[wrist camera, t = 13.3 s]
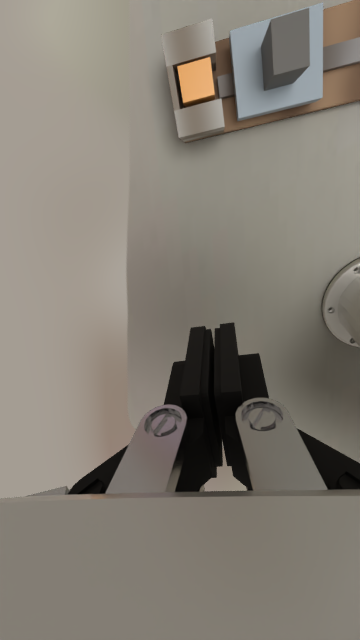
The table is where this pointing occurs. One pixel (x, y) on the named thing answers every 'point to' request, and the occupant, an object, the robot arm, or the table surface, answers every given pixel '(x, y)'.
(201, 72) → the button
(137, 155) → the table surface
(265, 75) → the carriage
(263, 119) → the rail board
